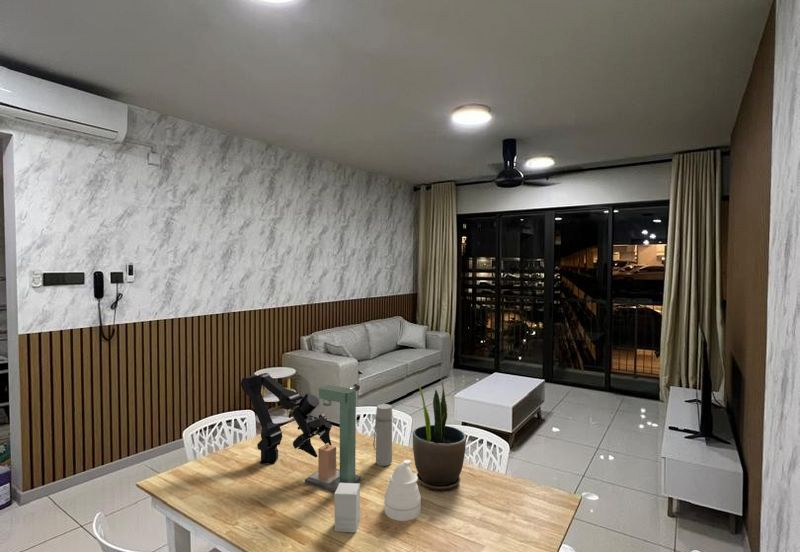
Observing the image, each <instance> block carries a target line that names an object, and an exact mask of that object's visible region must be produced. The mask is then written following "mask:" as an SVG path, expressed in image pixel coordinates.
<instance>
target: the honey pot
mask: <svg viewBox="0 0 800 552" xmlns="http://www.w3.org/2000/svg"><path fill="white" fill-rule="evenodd" d="M411 463H412V461H411V460H410V459H405V460H403V462H401V463H399V464H398V465H397V466H396V467H395V469H394V471H393V473H391V474H390V476H389V483H388V484H387V488H386V491H385V493H384V504H383V505H384V507H383V509H384V514H385V515H386V516H387V517H388V518H389V519H392V520H394V521H398V522H406V521H411V520H414V519H416V518H418V517H419V516H420V514H421V512H422V511H421V510H422V509H421V508H422V501H421V500H422V499H421V498H422V497H421V492H420V489H419V486H418V483H417V482H418V477H417V474H416V473H414V472H413V471H412V469H411V468H410V465H411Z"/></svg>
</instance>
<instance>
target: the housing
mask: <svg viewBox="0 0 800 552" xmlns="http://www.w3.org/2000/svg"><path fill="white" fill-rule="evenodd" d="M317 457H318V459H317V460H318V464H317V465H318V468H317V471H318V476H321V477H324V478H327V479H329V478H330V477H332V476H333V475H335V474H336V469H337V446H336V445H332V444H331V445H329V443H326V444H324V445H322V446H320V447H319V448H318V454H317Z"/></svg>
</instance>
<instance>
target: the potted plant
mask: <svg viewBox="0 0 800 552" xmlns="http://www.w3.org/2000/svg"><path fill="white" fill-rule="evenodd" d="M415 383H416V384H417V385H418V388H419V393H420V396H421V399H422V407H423V415H424V423H425V425H421V426H419V427H417V428H414V430H413V431H412V451H413V460H414V465H415V469H416V471H417V474H416V475H417V477H418V480H417V482H418V483H419V485H420V486H422V488H423V487H424V488H425V489H427V490H429V491H434V492H443V493H444V492H449V491H452V490H454V489H455V488H457V487H458V485H459V483H460V482H461V476H460V475H461V473H462V470H463V466H464V462H465V456H466V455H465V453H466V448H467V447H466V446H467V435H466V434H465V432H464V431H462V430H461V429H459V428H457V427H453V426H449V425H447V419H448V404H447V401H446V393H445V392H446V391H445V388H444V387H445V386H444V381H442V383H441V387H442V392H441V399H440V395H439V393H438V389H434V395H433V399H432V407H433V415H434V416H433V417H434V424H431V419H430V415H429V411H428V409H427V406H426V403H425V398H424V394H423V390H422V388H421V385H420V383H419V382H418V381H415Z"/></svg>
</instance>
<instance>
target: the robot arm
mask: <svg viewBox="0 0 800 552" xmlns="http://www.w3.org/2000/svg"><path fill="white" fill-rule="evenodd" d="M263 387H264V388H265V389H267V391H269V392H270V393H271V394H273V395H274V396H275V397H276V398H277V399H278V402H279V404H280V405H281V406H282V408H284V409H285V410H286V411H288V410H289V412H288V413H289V414H288V419H291V418H293V420H294V421H295V423H296V424H297V426H298V427H297V430H298V431H299V430H301V432H302V434H299V435H298V436H297V437H296V438H295V439H294V440H293V441H292V446H293V448H294V449H295V450H296V449H297V450H301V451H303V452H305V453H307V454H309V455H311V456H312V457H313V458H317V457H318V454H317V452H316V450H315V449H314V447H313V445H312V442H311V441H312V440H311V439H312V438H313V437H316V436H319V438H318V439H320V440H321V441H322V442H323V444H324V445H326V443H329V445H332V441H331V438H330V437H331V436H330V433H331V430H332V427H333V426H332V424H331V422H330V421H327V420H328V417H327V415H326V413H321V414H319V415H318V417H317V418H315V417H314V416H310V414H311V413H312V412H314V411H315V409H316V408H318V406H320V400H319V399H320V398H319V397H317V396H316V395H314V394H311V392H308V393H306V394H305V395H304V396H302V395H300V394H299V393H298V392H296V391H294V390H291V389H287V388H286V387H285V386H284V385H282V384H281V383H279V382H278V381H277V380H276V379H274V378H273V377H272V376H271V375H270V374H269V373H268V372H264V373H260V374H252V375H249V376H246V377H243V378H242V379H241V382H240V388H241V389H242V391H243V393H244V394H246V396H248V397H249V398H250V400H251V403H252V405H253V409H254V411H255V414H256V416H257V419H258V421H259V424H260V426H261V430H260V431H261V432H260V439H261V440H260V441H259V442H258V443H257V446H256V447H257V450H260V461H259V463H258V464H261V465H265V464H266V465H275V463H276V461H278V459H279V449H278V446H280V444H281V442H282V440H283V430H282V429H281V426H280V424H279V423H278V424H275V423H274V422H273V419H272V417H271V415H270V411H269V409H268V406H267V404H266V402H265V399H264V396H263V393H262V389H263ZM291 409H292V410H291Z"/></svg>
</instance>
